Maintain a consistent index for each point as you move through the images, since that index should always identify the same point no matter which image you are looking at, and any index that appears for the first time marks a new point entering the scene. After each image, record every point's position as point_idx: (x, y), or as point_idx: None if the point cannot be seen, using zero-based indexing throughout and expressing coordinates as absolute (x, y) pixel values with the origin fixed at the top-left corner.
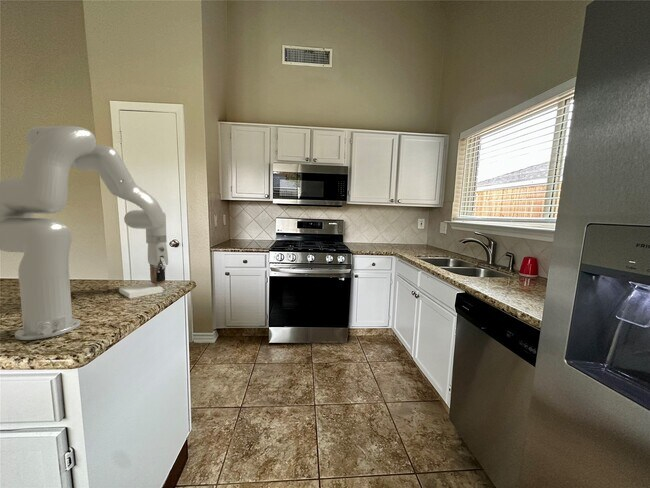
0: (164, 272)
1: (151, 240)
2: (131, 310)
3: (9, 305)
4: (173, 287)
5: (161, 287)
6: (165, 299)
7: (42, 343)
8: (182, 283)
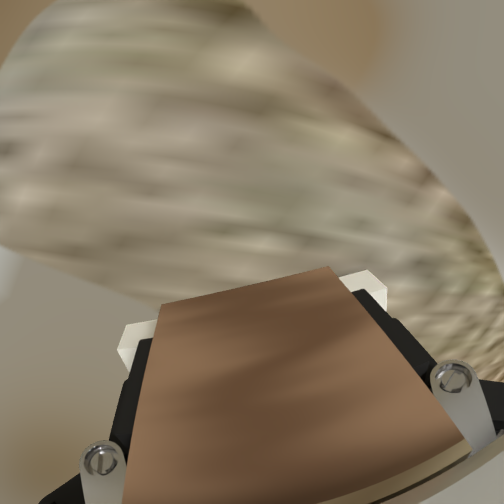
0: (420, 358)
1: None
2: (490, 373)
3: None
4: (236, 150)
5: (381, 296)
6: (493, 271)
7: None
8: (106, 45)
